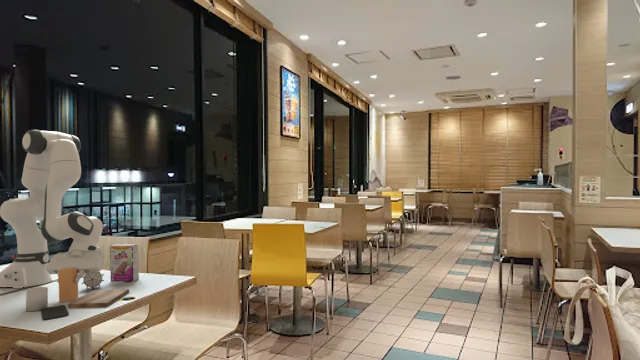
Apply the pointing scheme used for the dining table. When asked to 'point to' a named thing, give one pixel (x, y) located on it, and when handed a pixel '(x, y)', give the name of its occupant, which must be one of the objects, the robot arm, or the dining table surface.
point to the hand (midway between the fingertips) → (67, 282)
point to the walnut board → (98, 298)
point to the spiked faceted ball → (92, 279)
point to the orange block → (68, 284)
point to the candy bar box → (124, 262)
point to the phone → (54, 312)
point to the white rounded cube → (36, 298)
